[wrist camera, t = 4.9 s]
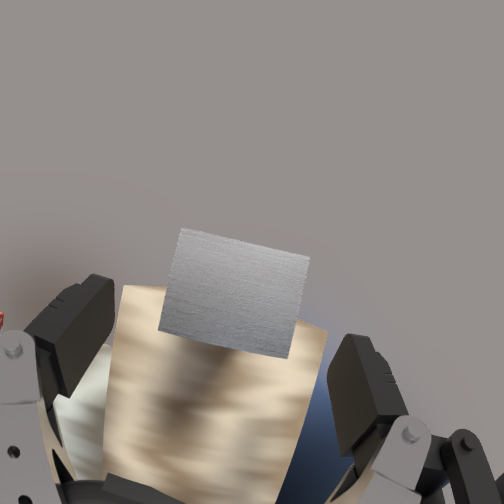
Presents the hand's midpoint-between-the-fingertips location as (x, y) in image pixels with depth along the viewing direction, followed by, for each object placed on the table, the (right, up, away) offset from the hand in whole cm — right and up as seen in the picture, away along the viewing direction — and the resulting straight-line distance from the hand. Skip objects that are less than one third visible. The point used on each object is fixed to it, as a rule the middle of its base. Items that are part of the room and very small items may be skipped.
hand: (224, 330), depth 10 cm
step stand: (-14, -31, +9) cm, 35 cm away
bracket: (-1, -1, +7) cm, 7 cm away
